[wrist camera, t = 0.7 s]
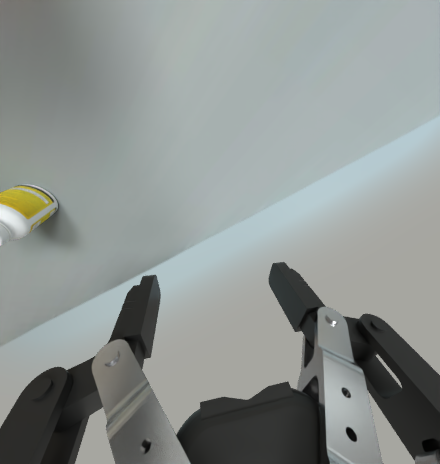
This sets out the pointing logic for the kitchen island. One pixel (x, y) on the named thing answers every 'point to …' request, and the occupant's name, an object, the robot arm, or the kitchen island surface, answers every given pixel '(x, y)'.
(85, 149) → the kitchen island surface
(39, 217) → the supplement bottle
